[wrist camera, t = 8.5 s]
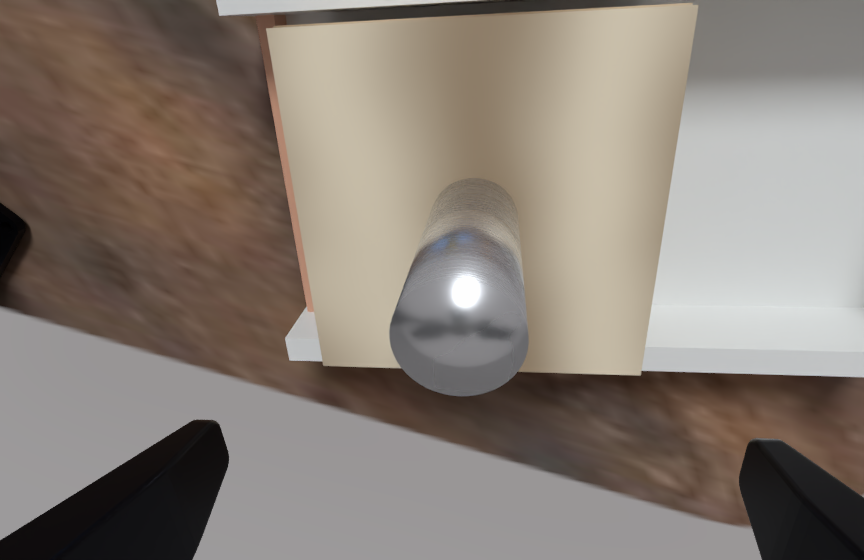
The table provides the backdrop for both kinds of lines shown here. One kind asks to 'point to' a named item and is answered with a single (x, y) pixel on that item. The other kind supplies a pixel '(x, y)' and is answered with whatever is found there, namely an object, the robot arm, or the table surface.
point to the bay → (715, 181)
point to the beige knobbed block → (484, 186)
